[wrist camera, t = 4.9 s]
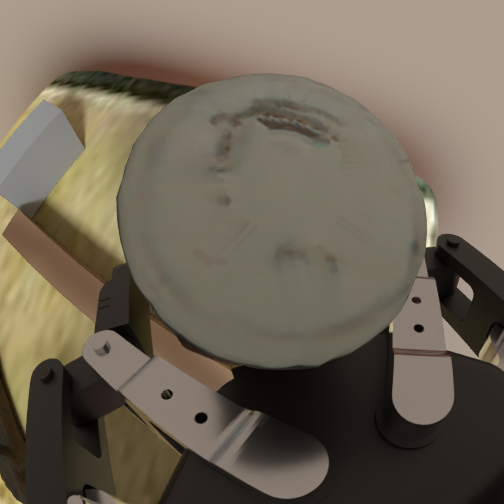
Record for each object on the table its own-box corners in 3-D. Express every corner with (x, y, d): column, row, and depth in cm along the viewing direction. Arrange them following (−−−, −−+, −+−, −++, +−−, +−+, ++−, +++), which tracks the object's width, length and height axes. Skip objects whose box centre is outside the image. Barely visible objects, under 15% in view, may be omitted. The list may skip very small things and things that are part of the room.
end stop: (31, 218, 22) (-4, 191, 16) (15, 202, 22) (-19, 175, 16) (85, 148, 24) (62, 109, 18) (66, 137, 24) (43, 99, 18)
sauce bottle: (224, 242, 24) (267, -14, 5) (287, 294, 23) (514, 172, 4) (167, 307, 22) (-25, 197, 3) (232, 362, 22) (338, 523, 2)
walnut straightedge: (239, 408, 21) (243, 420, 18) (20, 244, 21) (2, 234, 18) (257, 381, 21) (263, 389, 19) (34, 221, 22) (18, 209, 19)
